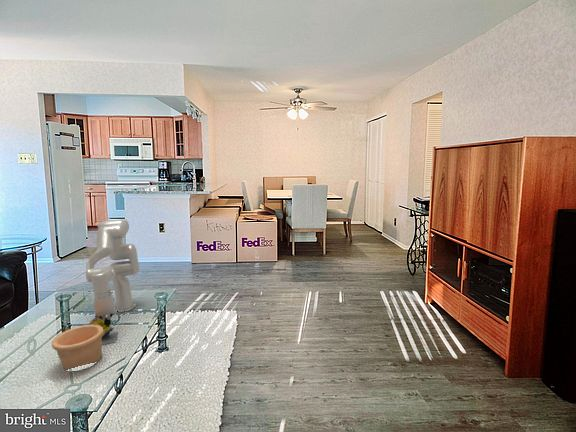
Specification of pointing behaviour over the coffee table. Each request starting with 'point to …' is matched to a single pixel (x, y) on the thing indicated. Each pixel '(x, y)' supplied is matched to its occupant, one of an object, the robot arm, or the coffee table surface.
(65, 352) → the pottery
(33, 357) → the coffee table surface
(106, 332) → the supplement box
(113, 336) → the mat
